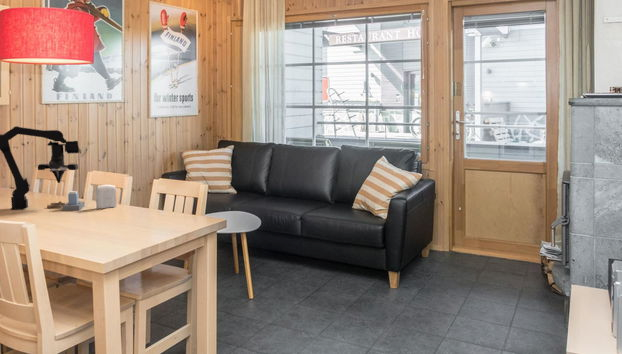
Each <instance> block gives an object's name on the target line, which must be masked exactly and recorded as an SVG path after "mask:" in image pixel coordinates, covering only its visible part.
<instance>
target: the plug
mask: <svg viewBox="0 0 622 354" xmlns="http://www.w3.org/2000/svg"><path fill="white" fill-rule="evenodd" d="M67 199H68V200H67V203H68V202H69V205H78V204H79V202H80V201H79V192H78V191H77V190H72V191H71V190H70V191H69V192H68V194H67Z"/></svg>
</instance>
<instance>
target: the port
mask: <svg viewBox="0 0 622 354" xmlns="http://www.w3.org/2000/svg"><path fill="white" fill-rule="evenodd" d="M84 207H85V201H79V204H78V205H69V202H68V201H67V202H65V205H63V206H62V211H63V212H65V211H66V212H69V211H76V212H77V211H81V210H82V209H83V208H84Z"/></svg>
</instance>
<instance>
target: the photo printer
mask: <svg viewBox="0 0 622 354" xmlns="http://www.w3.org/2000/svg"><path fill="white" fill-rule="evenodd" d="M95 200H96V201H95V202H96V203H95V204H96V209H97V210H98V209H99V210H100V209H109V208H116V207H117V188H116V185H114V184H101V185H99V186H96V188H95Z"/></svg>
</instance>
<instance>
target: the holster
mask: <svg viewBox="0 0 622 354" xmlns="http://www.w3.org/2000/svg"><path fill="white" fill-rule="evenodd" d="M65 204H66V202H62V201H60V200H59V201H58V202H51V203H50V204H47V205H46V209H63V207H62V206H63V205H65Z"/></svg>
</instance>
